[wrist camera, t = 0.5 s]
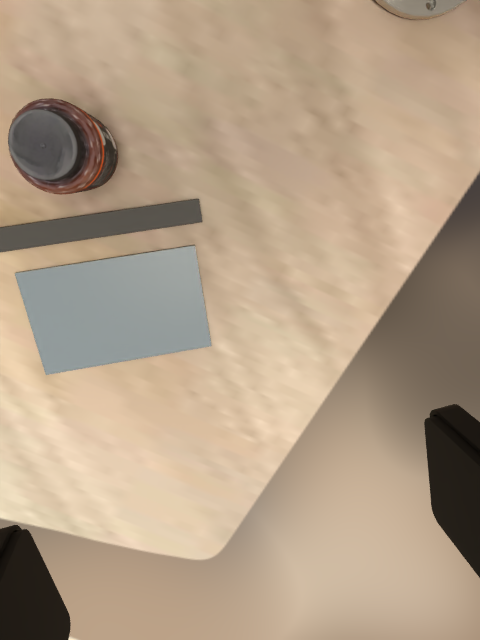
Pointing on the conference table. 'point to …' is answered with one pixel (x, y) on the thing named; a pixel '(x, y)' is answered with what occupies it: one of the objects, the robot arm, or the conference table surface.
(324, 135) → the conference table surface
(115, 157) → the supplement bottle
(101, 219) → the bar
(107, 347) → the pad
